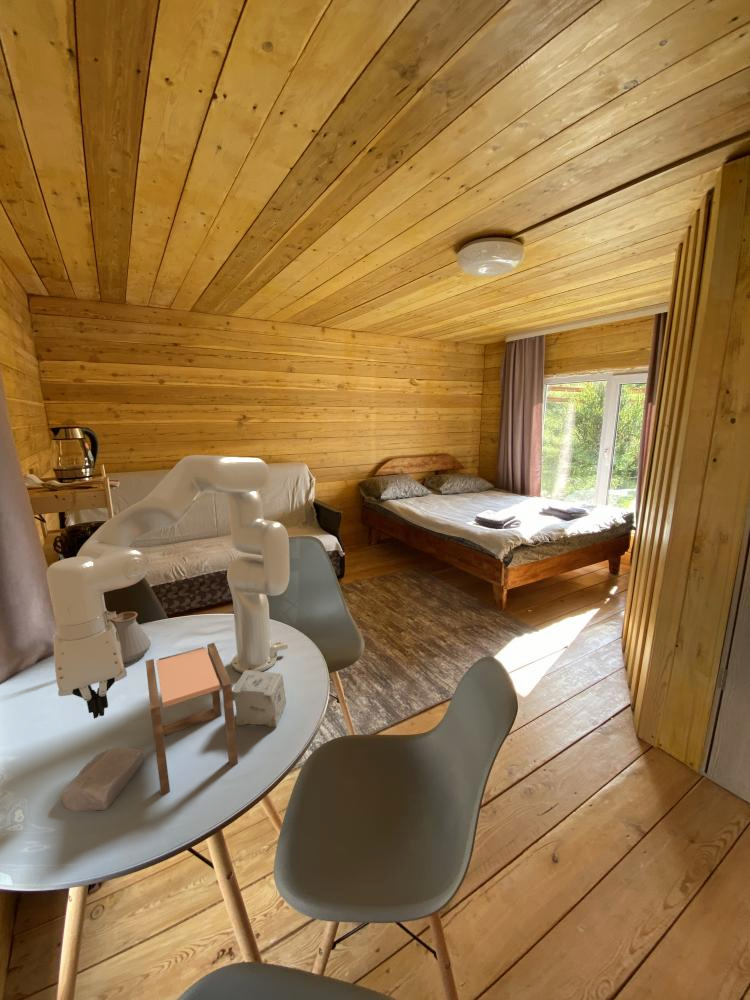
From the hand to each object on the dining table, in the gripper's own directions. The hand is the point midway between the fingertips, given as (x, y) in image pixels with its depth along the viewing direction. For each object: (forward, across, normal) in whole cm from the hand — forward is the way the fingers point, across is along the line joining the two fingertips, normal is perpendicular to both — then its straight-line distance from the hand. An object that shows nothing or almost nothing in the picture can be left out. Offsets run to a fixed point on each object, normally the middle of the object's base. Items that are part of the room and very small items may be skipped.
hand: (99, 712), depth 79 cm
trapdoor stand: (+14, -15, +2) cm, 21 cm away
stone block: (+14, +1, +2) cm, 15 cm away
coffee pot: (+15, +1, -46) cm, 49 cm away
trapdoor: (-1, -16, 0) cm, 16 cm away
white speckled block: (+15, -30, 0) cm, 33 cm away
